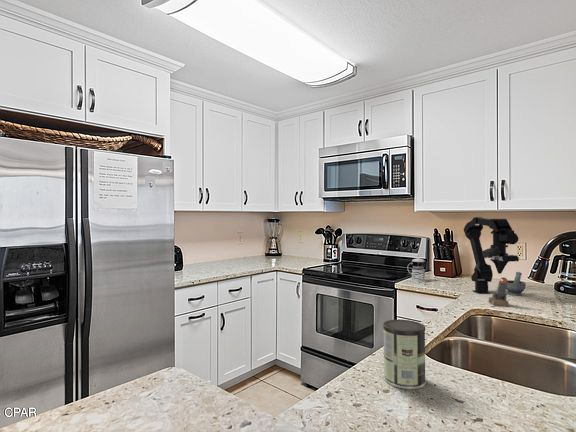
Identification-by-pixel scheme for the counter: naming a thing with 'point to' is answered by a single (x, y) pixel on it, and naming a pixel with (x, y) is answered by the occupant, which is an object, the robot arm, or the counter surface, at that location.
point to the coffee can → (404, 354)
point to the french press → (422, 271)
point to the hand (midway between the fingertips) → (499, 273)
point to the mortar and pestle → (516, 286)
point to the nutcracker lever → (501, 288)
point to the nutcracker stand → (498, 301)
